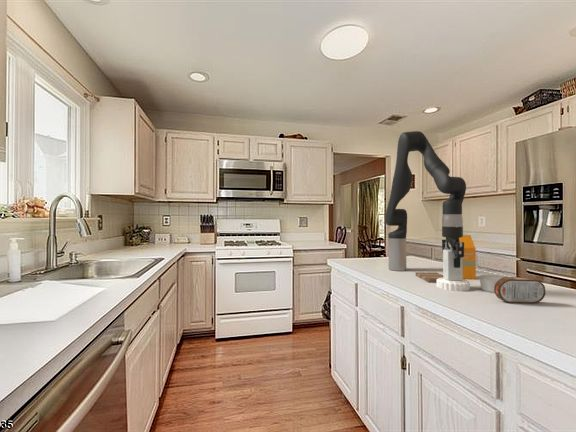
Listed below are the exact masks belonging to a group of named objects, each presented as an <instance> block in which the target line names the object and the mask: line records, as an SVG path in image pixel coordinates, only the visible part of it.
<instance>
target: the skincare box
mask: <svg viewBox="0 0 576 432" xmlns="http://www.w3.org/2000/svg"><path fill="white" fill-rule="evenodd" d="M460 253H461V252H460ZM442 265H443V266H442V267H443V269H442V275H443V278H444V279H446V280H463V257H461V258H460V268H455V267H454V256H453V253H451V250H443V253H442Z"/></svg>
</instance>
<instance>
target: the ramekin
mask: <svg viewBox="0 0 576 432" xmlns="http://www.w3.org/2000/svg"><path fill="white" fill-rule="evenodd" d="M503 277H506V276H505V275H504V276H503V275H498V274H497V275H495V274H481V275H479V276H478V279H479V283H480V288H481V290H483V291H484V292H486V293H491V294H495V292H494V286H495V284H496V282H497V281H498V280H499V279H501V278H503Z"/></svg>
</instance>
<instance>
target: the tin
mask: <svg viewBox="0 0 576 432" xmlns="http://www.w3.org/2000/svg"><path fill="white" fill-rule="evenodd" d="M494 292H495V293H494V294H495V296H496V297H497V298H498V299H499V300H501V301H503V302H505V303H508V304H538V303H540V302H542V301H543V299H544V298H545V296H546V286H545V285H544V283H542V282H541V281H540V280H537V279H535V278H534V277H529V276H528V277H527V276H526V277H525V276H524V277H523V276H521V277H520V276H519V277H518V276H505V277H503V278H501V279H499V280H498V281H497V282H496V284H495V286H494Z"/></svg>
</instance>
